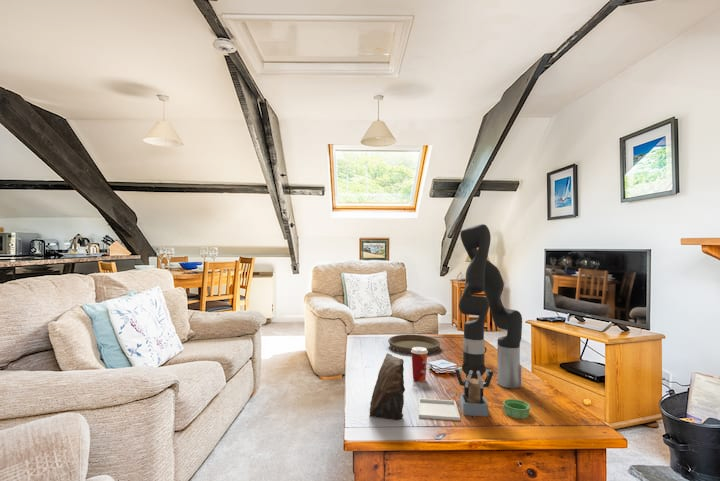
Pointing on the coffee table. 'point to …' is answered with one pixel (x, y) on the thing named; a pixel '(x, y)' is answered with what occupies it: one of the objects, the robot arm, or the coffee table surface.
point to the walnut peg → (474, 392)
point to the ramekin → (516, 408)
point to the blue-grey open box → (474, 406)
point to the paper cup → (419, 363)
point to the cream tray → (438, 409)
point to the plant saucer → (413, 343)
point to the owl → (389, 390)
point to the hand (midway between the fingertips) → (473, 397)
